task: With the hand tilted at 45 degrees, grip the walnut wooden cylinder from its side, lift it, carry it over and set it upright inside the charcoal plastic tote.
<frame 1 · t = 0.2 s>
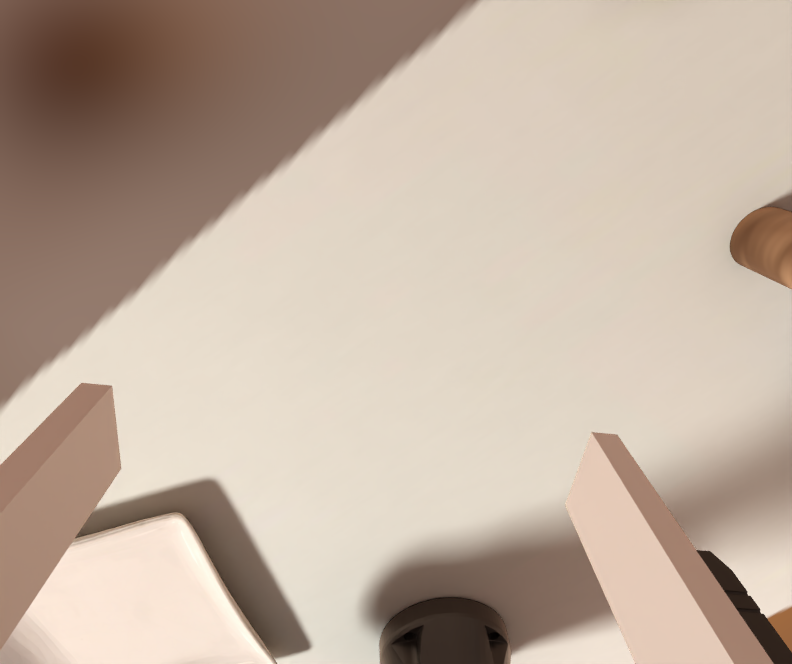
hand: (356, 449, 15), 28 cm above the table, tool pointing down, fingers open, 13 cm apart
square plate: (132, 606, 57), on the table
walnut cylinder: (760, 237, 42), on the table
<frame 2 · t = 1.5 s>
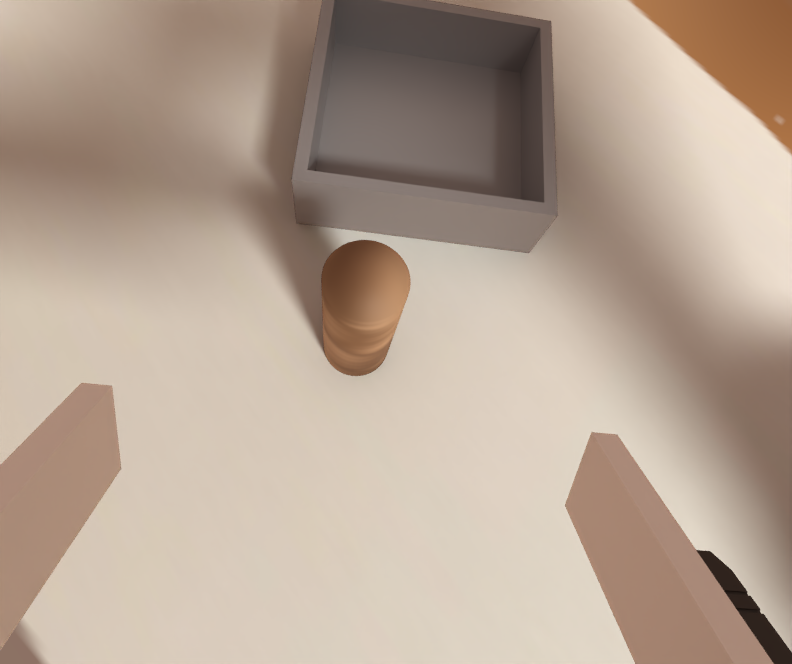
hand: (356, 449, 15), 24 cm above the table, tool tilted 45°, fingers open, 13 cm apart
tote: (422, 142, 47), on the table
walnut cylinder: (356, 344, 40), on the table
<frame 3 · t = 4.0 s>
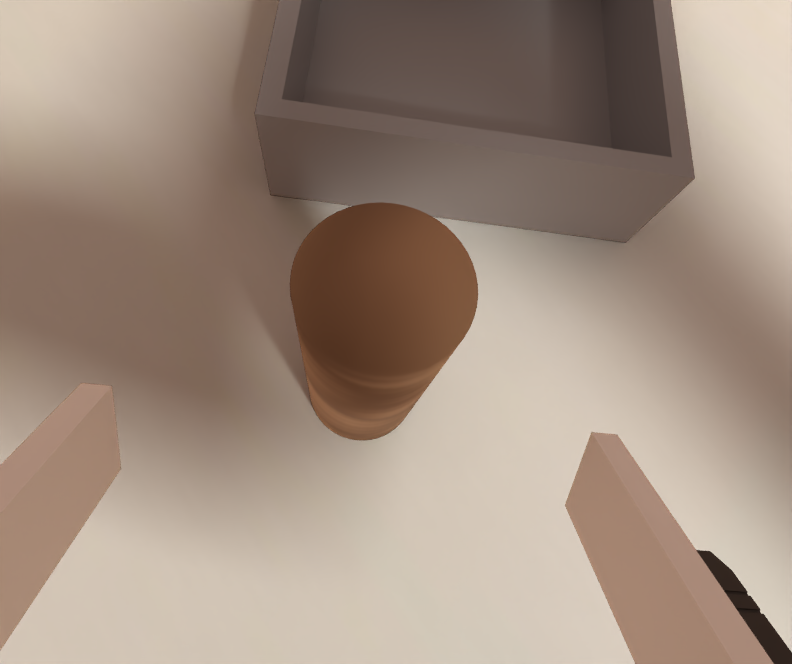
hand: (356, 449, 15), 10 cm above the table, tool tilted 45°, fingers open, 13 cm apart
tote: (460, 79, 32), on the table
walnut cylinder: (362, 387, 25), on the table
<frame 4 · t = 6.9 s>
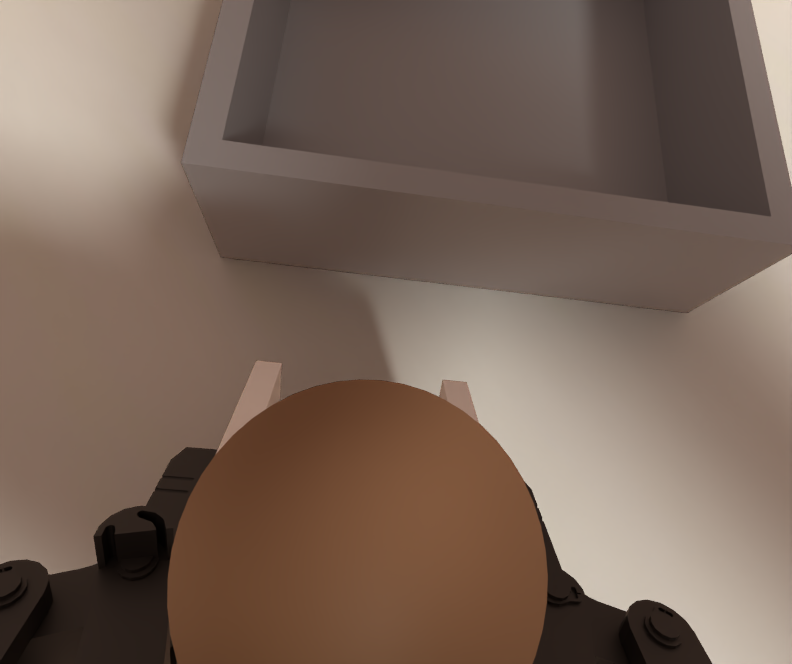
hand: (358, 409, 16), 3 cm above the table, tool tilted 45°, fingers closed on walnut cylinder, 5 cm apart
tote: (469, 98, 25), on the table
walnut cylinder: (343, 532, 18), on the table, touching gripper
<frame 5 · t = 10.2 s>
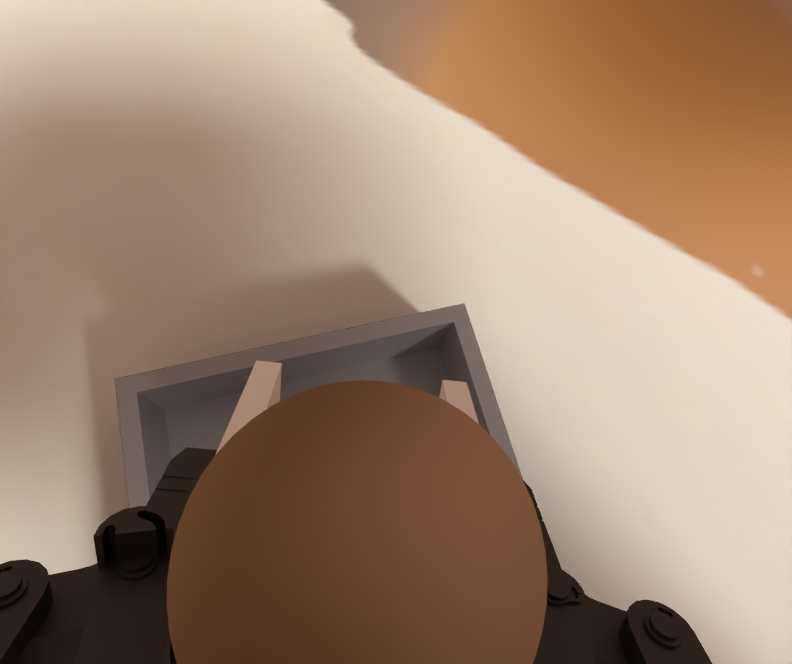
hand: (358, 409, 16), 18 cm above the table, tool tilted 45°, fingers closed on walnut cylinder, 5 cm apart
tote: (339, 517, 32), on the table
walnut cylinder: (343, 532, 18), point 15 cm above the table, touching gripper
when the fingers open (5 cm above the table, at t = 14.0 s): walnut cylinder stays where it is, resting on tote.
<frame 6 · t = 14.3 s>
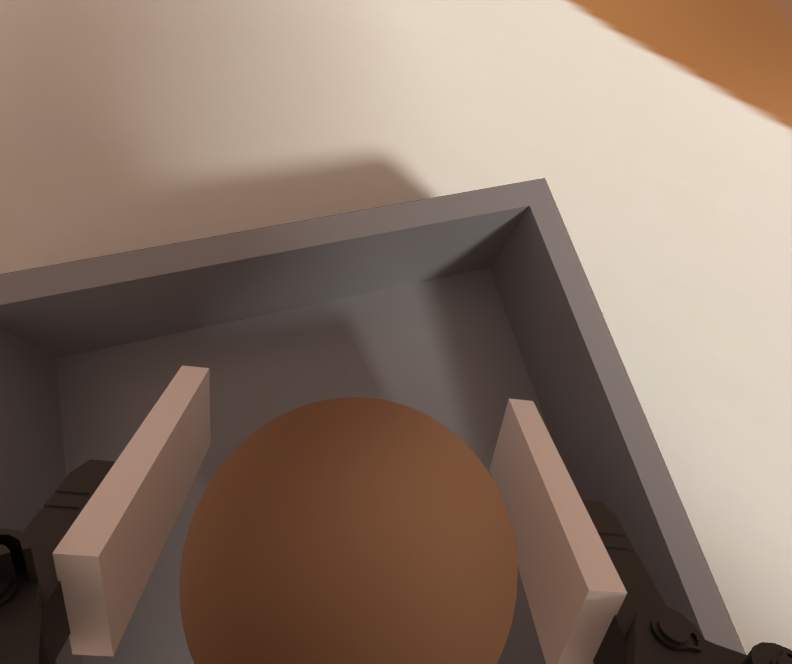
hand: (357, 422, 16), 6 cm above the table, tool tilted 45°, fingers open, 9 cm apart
tote: (341, 530, 20), on the table
walnut cylinder: (342, 533, 19), point 1 cm above the table, touching tote
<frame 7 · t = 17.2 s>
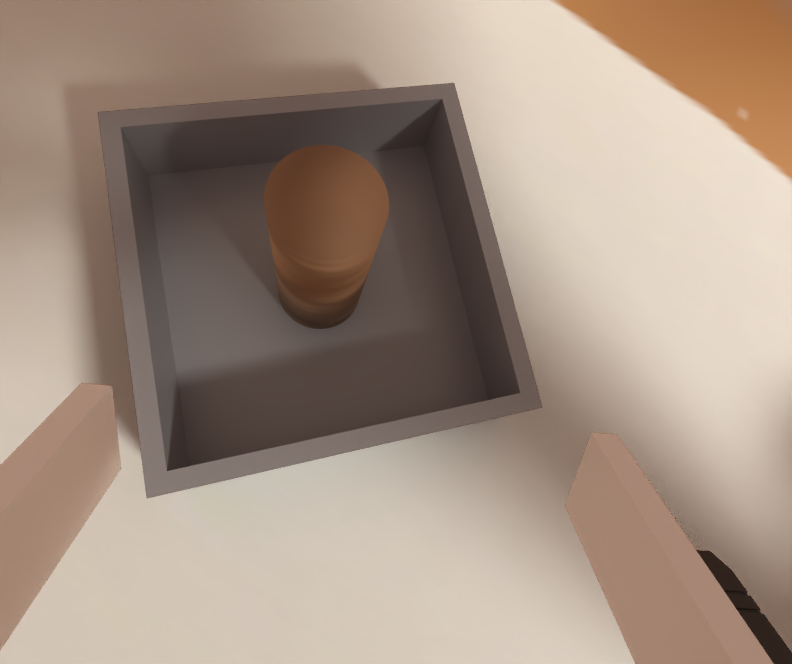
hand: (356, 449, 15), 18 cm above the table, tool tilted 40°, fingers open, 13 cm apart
tote: (319, 294, 33), on the table
walnut cylinder: (319, 290, 32), point 1 cm above the table, touching tote
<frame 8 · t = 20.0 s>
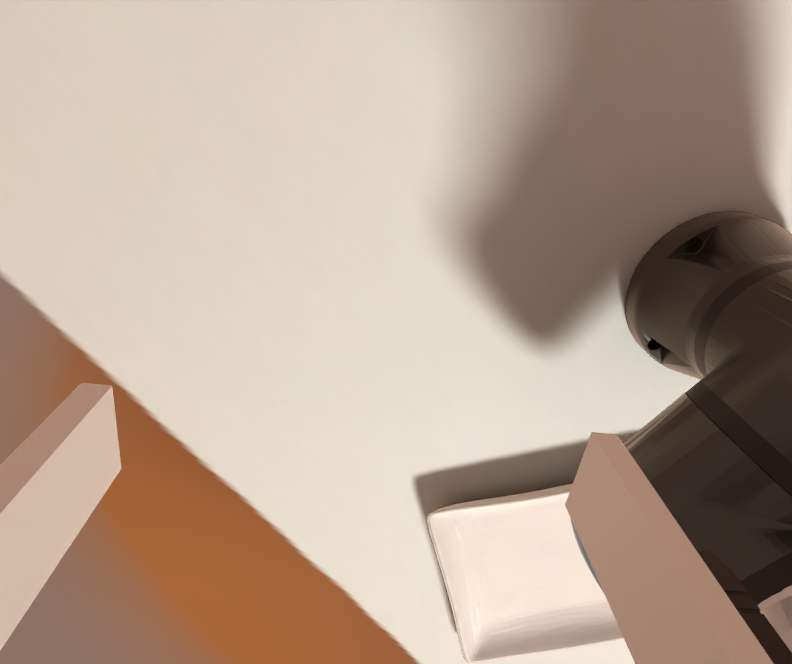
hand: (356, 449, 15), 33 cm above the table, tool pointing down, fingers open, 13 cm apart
square plate: (552, 551, 63), on the table
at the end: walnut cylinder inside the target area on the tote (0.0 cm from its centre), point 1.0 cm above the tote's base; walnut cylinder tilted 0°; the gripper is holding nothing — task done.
